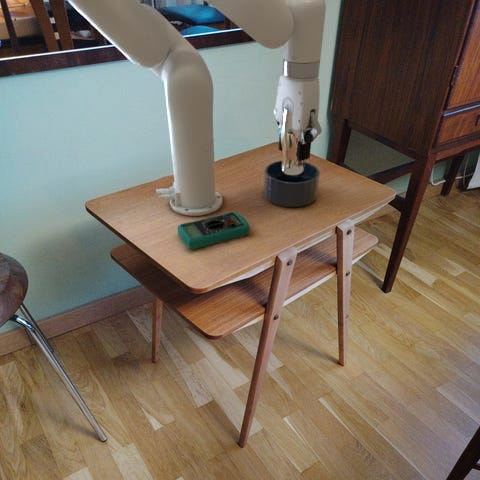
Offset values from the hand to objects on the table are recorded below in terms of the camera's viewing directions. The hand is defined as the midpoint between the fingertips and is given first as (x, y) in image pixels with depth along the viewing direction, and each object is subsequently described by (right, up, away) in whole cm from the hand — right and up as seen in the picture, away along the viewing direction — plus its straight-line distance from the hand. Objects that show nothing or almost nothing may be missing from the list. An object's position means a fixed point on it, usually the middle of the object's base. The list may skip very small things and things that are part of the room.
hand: (293, 153), depth 104 cm
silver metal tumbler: (0, -4, +3) cm, 5 cm away
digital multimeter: (-18, -20, -6) cm, 28 cm away
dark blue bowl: (0, -8, +7) cm, 11 cm away
